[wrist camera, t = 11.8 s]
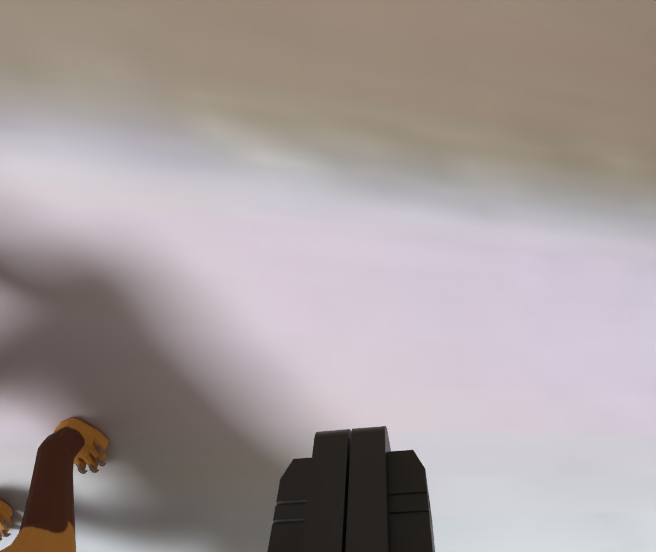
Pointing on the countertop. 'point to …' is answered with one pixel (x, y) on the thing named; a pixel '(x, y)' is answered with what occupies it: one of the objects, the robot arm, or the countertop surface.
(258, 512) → the countertop surface
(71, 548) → the toy
